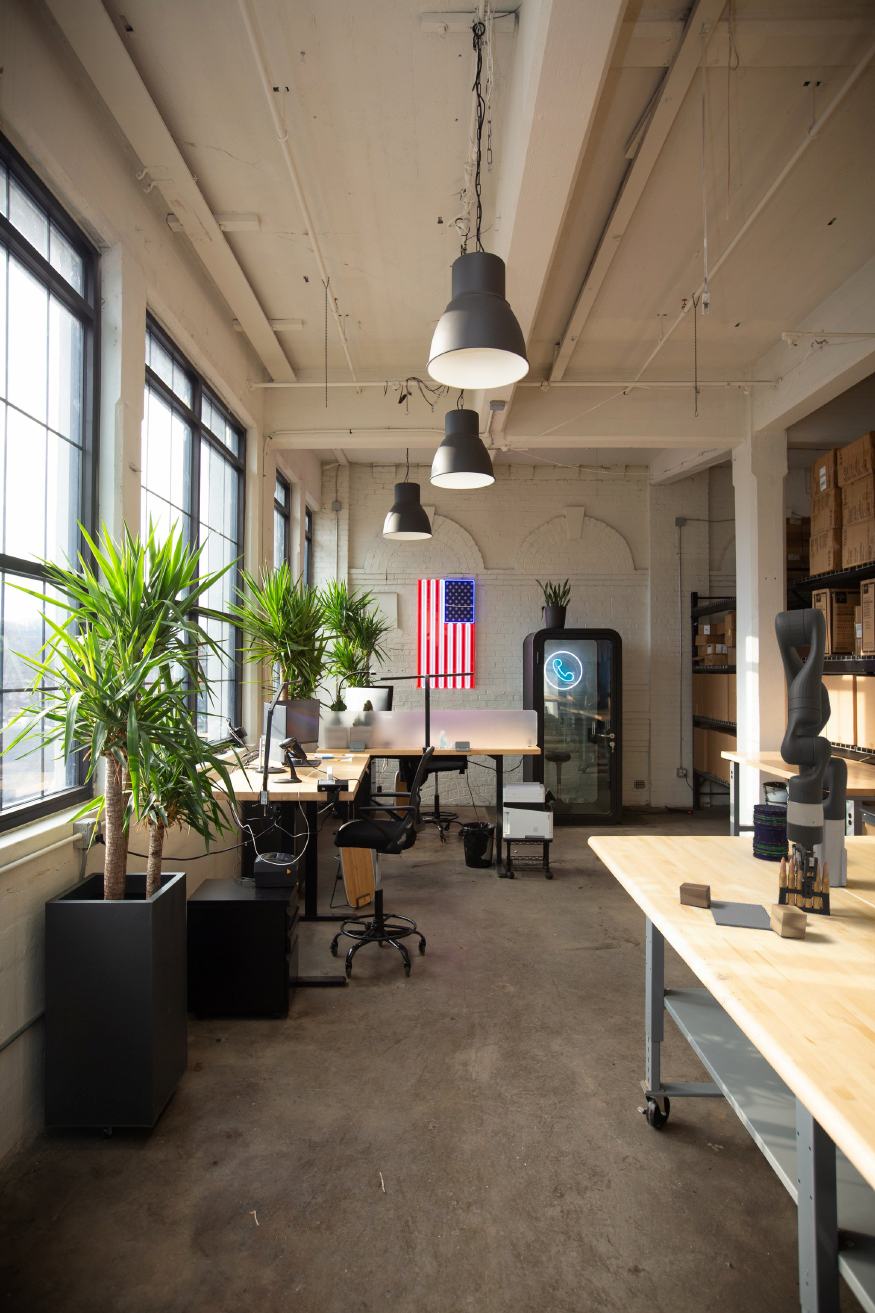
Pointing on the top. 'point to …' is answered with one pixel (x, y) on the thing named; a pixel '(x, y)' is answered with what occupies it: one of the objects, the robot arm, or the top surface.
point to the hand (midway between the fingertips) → (803, 894)
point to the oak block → (788, 921)
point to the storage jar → (770, 833)
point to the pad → (740, 915)
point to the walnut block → (695, 894)
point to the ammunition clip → (788, 892)
